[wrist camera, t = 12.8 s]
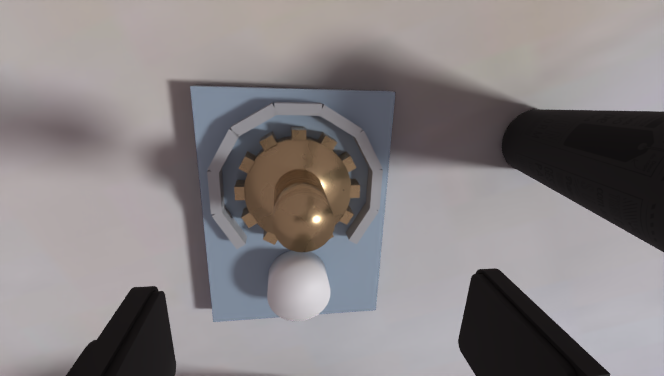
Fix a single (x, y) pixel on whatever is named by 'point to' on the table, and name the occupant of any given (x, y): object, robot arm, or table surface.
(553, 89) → the table surface
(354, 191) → the bronze gear
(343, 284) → the carrier plate
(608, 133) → the drinking cup
